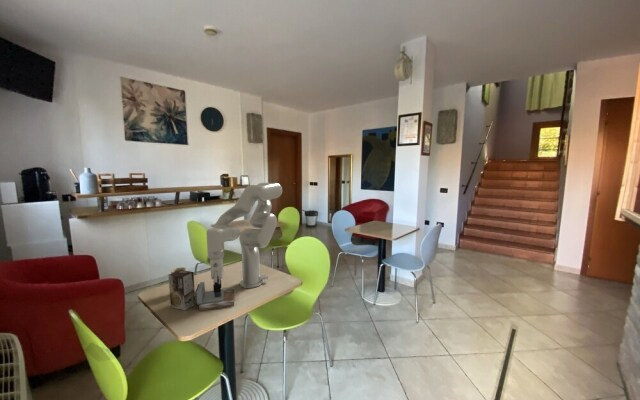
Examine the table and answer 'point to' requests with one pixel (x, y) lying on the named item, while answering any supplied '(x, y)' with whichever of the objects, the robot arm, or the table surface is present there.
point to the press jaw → (207, 295)
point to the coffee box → (182, 289)
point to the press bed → (227, 301)
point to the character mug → (178, 269)
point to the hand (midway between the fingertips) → (217, 289)
